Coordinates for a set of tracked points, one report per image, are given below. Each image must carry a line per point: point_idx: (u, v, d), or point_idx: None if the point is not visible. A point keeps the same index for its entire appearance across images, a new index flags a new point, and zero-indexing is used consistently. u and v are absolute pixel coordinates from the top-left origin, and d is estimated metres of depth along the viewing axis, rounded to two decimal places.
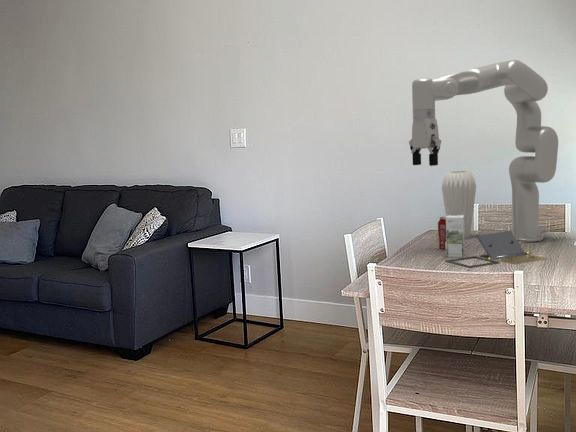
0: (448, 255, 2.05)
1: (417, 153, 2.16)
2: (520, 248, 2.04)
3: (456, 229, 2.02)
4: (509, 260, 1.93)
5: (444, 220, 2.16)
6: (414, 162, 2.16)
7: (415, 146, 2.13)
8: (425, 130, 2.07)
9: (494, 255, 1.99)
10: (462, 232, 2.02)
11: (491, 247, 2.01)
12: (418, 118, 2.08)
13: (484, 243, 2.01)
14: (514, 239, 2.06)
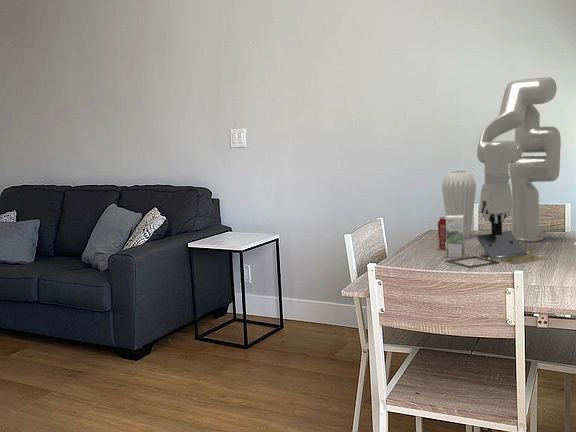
0: (448, 255, 2.05)
1: None
2: (520, 248, 2.04)
3: (456, 229, 2.02)
4: (509, 260, 1.93)
5: (444, 220, 2.16)
6: None
7: (494, 212, 2.00)
8: (510, 194, 2.02)
9: (494, 255, 1.99)
10: (462, 232, 2.02)
11: (491, 247, 2.01)
12: (507, 182, 1.99)
13: (484, 243, 2.01)
14: (514, 239, 2.06)
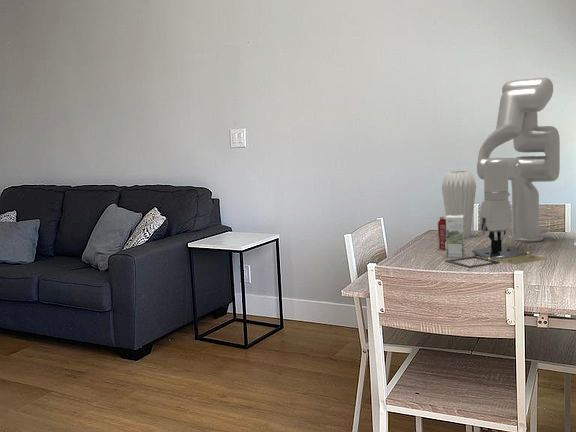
0: (448, 255, 2.05)
1: None
2: (518, 251, 2.04)
3: (456, 229, 2.02)
4: (509, 260, 1.93)
5: (444, 220, 2.16)
6: None
7: (494, 229, 2.01)
8: (509, 211, 2.02)
9: (493, 257, 1.99)
10: (462, 232, 2.02)
11: (489, 253, 2.02)
12: (507, 200, 2.00)
13: (480, 252, 2.03)
14: (510, 248, 2.08)
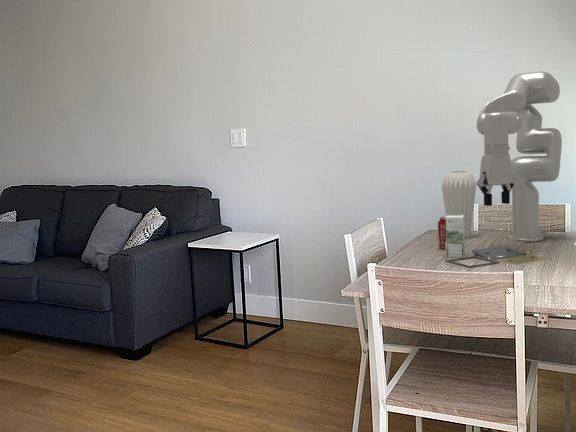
0: (448, 255, 2.05)
1: None
2: (518, 251, 2.04)
3: (456, 229, 2.02)
4: (509, 260, 1.93)
5: (444, 220, 2.16)
6: None
7: (494, 183, 1.99)
8: (510, 165, 2.01)
9: (493, 257, 1.99)
10: (462, 232, 2.02)
11: (489, 253, 2.02)
12: (507, 153, 1.98)
13: (480, 252, 2.03)
14: (510, 248, 2.08)
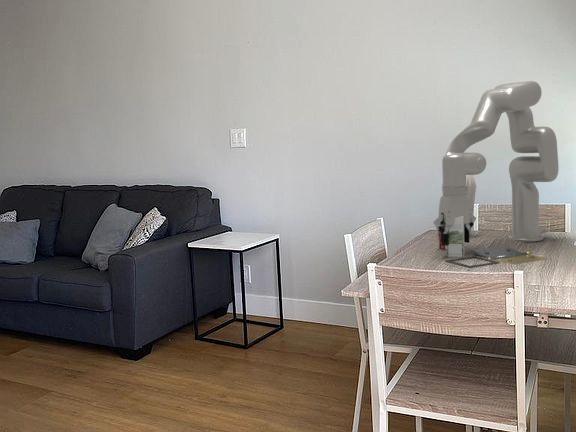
0: (448, 255, 2.05)
1: None
2: (518, 251, 2.04)
3: (456, 229, 2.02)
4: (509, 260, 1.93)
5: None
6: None
7: (452, 224, 2.02)
8: (468, 206, 2.04)
9: (493, 257, 1.99)
10: (462, 232, 2.02)
11: (489, 253, 2.02)
12: (465, 194, 2.01)
13: (480, 252, 2.03)
14: (510, 248, 2.08)
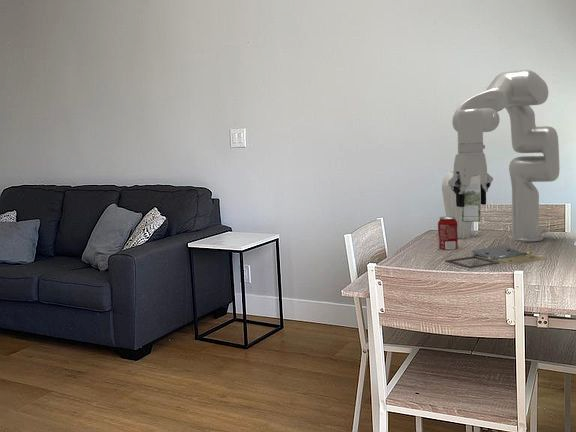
0: (463, 217, 1.91)
1: None
2: (518, 251, 2.04)
3: (473, 189, 1.88)
4: (509, 260, 1.93)
5: (444, 220, 2.16)
6: None
7: (468, 183, 1.88)
8: (485, 165, 1.90)
9: (493, 257, 1.99)
10: (479, 192, 1.88)
11: (489, 253, 2.02)
12: (482, 152, 1.87)
13: (480, 252, 2.03)
14: (510, 248, 2.08)
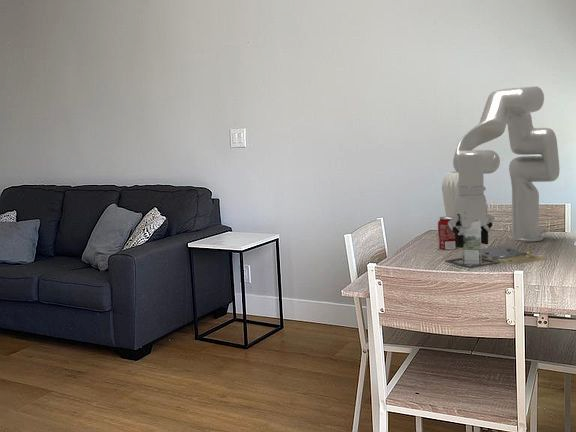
0: (464, 262, 1.93)
1: None
2: (518, 251, 2.04)
3: (473, 234, 1.90)
4: (509, 260, 1.93)
5: (444, 220, 2.16)
6: None
7: (469, 226, 1.90)
8: (485, 207, 1.92)
9: (493, 257, 1.99)
10: (479, 237, 1.90)
11: (489, 253, 2.02)
12: (482, 195, 1.89)
13: None
14: (510, 248, 2.08)
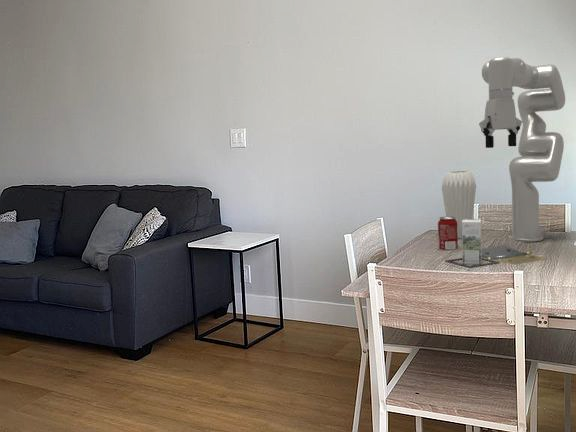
0: (464, 262, 1.93)
1: None
2: (518, 251, 2.04)
3: (473, 234, 1.90)
4: (509, 260, 1.93)
5: (444, 220, 2.16)
6: None
7: (499, 127, 2.03)
8: (514, 110, 2.05)
9: (493, 257, 1.99)
10: (479, 238, 1.90)
11: (489, 253, 2.02)
12: (511, 97, 2.03)
13: None
14: (510, 248, 2.08)
